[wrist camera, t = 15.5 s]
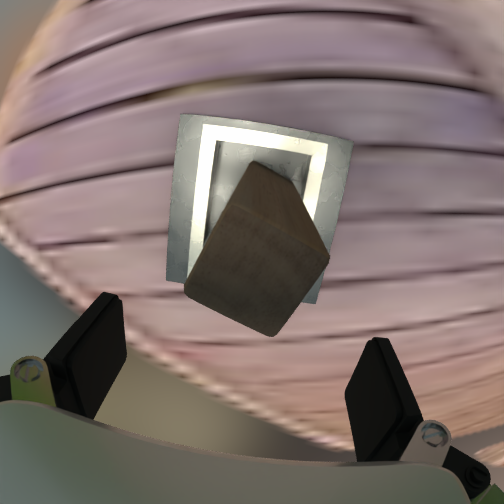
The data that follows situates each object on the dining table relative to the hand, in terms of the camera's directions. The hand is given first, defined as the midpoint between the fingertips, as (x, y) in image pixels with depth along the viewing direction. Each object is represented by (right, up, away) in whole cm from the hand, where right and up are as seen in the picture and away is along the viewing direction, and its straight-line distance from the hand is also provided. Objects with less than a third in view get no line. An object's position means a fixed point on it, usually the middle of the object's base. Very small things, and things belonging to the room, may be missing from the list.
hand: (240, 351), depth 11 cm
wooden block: (0, +7, +19) cm, 20 cm away
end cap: (+1, +7, +19) cm, 21 cm away
